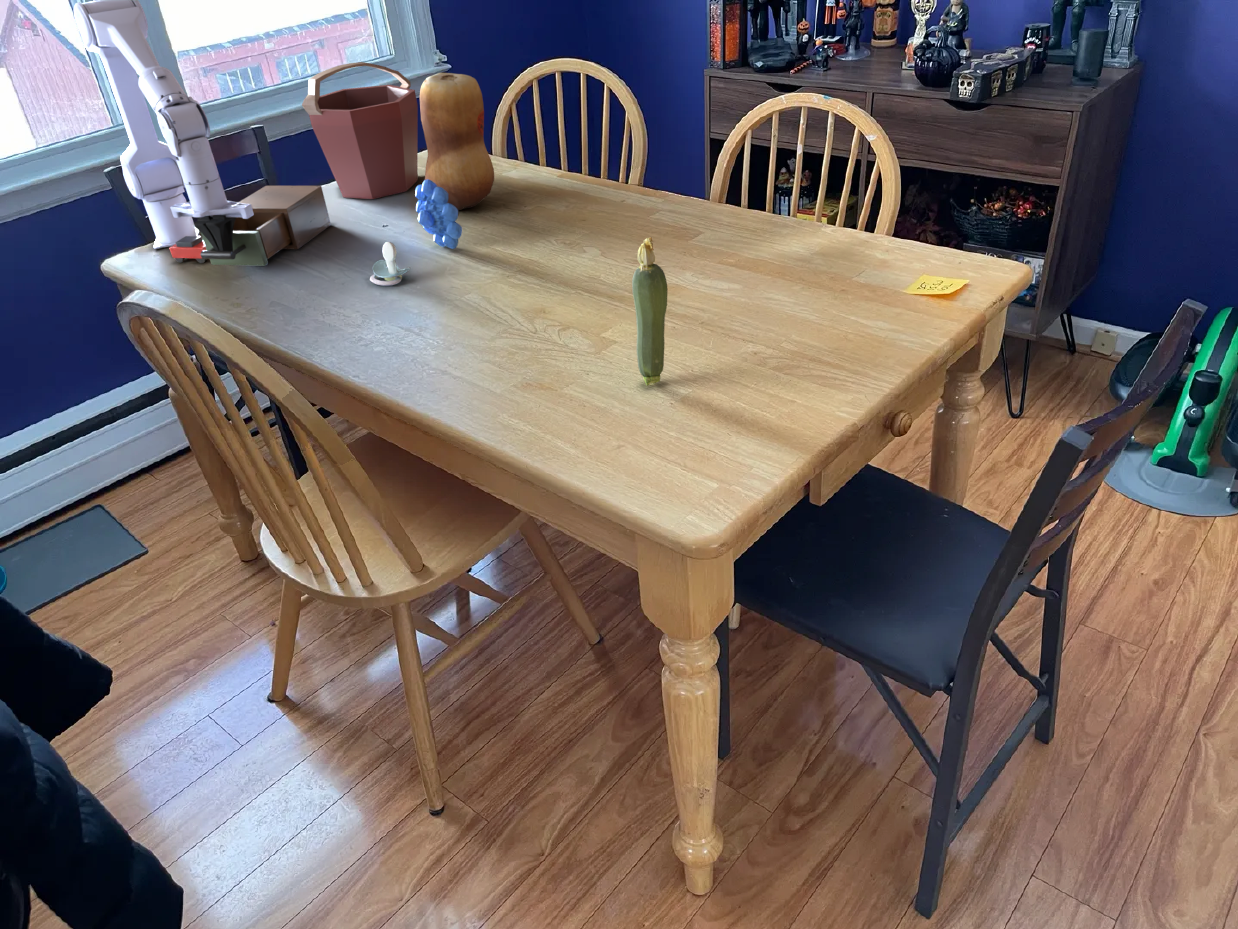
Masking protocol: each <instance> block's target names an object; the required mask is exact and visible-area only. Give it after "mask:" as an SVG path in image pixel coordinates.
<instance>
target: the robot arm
mask: <svg viewBox="0 0 1238 929" xmlns="http://www.w3.org/2000/svg"><path fill="white" fill-rule="evenodd" d="M73 17H74V20H75V24H76V26H77V29H78V33H79V35H80V38H81V40H82V43H83V46H84V47H85V48H86V51H88V52H92V53H97V54H98V56H99V58H100V59H101V62H102V64H103V67H104V70H105V73H106V75H107V77H108V82H109V84H110V87H111V90H112V92H113V95H114V99H115V101H116V105H117V107H118V109H119V112H120V114H121V120H122V121H123V124H124V127H125V130H126V133H127V136H128V138H129V142H130V144H129V146H128V147H127V148H126V150H125V151H124V152H123V153H122V155H120V158H119V160H120V165H121V168H122V175H123V180H124V182H125V184H126V186H127V189H128V190H129V192H130V194H131V195H132V196H133V197H134V198H136V199H138V200H142V202H143V206H144V209H145V211H146V214H147V216H148V219H149V222H150V225H151V227H152V230H153V232H154V235H155V241H154V244H153V249H155V250H157V249H163V248H170V247H171V246H173V245H175V244H176V243H175V242H177V241H179V240H180V239H182V238H184V237H185V236H200V234H201V233H202V234H203V235H204V236H205V237H206V238H207V239H208V241H209V242H210V243H211V245H212V246H213V248H214V249H215V251H233V244H232V237H233V228H234V223H235V219H236V217H242V218H243V219H248V218H250V217H251V216H253V215H254V213H253V210H252V207H251V204H243V203H238V202H239V201H232V200H227V199H228V198H227V195H226V193H225V189H224V186H223V183H222V180H221V177H220V174H219V171H218V168H217V163H216V161H215V157H214V155H213V154H214V153H213V152H212V148H211V145H210V142H209V139H208V138H209V137H210V136H211V127H210V123H209V120H208V117H207V114H206V113H205V110H204V109H203V107H202V105H201V104H200V102H198V101H197V100H196V99H194V97H192V96H188V95H187V94H186V93H185V91H184V89H183V88H182V86H181V84H180V83H179V81H178V80H177V78H176V77H175V75H174V73H173V72H172V71H171V70H170V69H168V68H167V67H164V66H160V64H159V61H158V60H157V58H156V56H155V53H154V51H153V50H152V48H151V46H150V44H149V42H148V41H147V38H148V37H149V34H148V31H149V30H148V29H149V25H148V20H147V16H146V13H145V11H144V8H143V6H142V4H141V2H140V1H139V0H93V1H86V2H81V1H79V2H75V4H74V6H73ZM138 76H139V77H138ZM146 100H147V102H148V103H149V105H150V107H151V109H152V110H153V112H154V113H155V115H156V118H157V123H158V126H159V129H160V131H161V134H162V136H163V138H164V139H165V142H166V143H164V142H163V141H160V140H159V138H158V135H157V132H156V128H155V125H154V123H153V119H152V116H151V113H150V110H149V107H148V105H147V102H146ZM185 191H186V192H185ZM183 193H186V194H187V196H188V199H189V202H187V199H186V197H185V196H184V194H183ZM193 218H196V219H197V220H196V221H195V222H194V220H193Z"/></svg>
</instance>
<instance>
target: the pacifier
mask: <svg viewBox="0 0 1238 929" xmlns="http://www.w3.org/2000/svg"><path fill="white" fill-rule="evenodd" d="M381 251H382V257H383V259H380V260H377V261H375V262H374V263H373V265H372V271H373V273H374V274H372V275H371V276H369V281H370V282H371V283H372V284H375V285H378V286H393V285H397V284H399V283H400V282H401V281H402V280H403V275H404V274H406V273H408V272H409V271H410V270H411V269H412V268H411V266H408V267H406V268H401V269H400V267H399V266H398V265H397V262H396V258H397V253H398V251H397V247H396V246H395V244H394V243H393V242H391V241H386V242H384V243H383V245H382V250H381ZM377 278H382V279H384V280H379V279H377Z"/></svg>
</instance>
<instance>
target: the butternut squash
mask: <svg viewBox="0 0 1238 929" xmlns="http://www.w3.org/2000/svg"><path fill="white" fill-rule="evenodd" d="M419 108H420V122H421V125H422V129H423V130H422V131H423V134H424V135H423V136H424V141H425V144H426V145H425V146H426V150H427V156H426V163H425V169H424V170H425V171H424V180H427V179H428V180H431V181H433V182H434V183H435V184H436V185H437V186H438V187H441V188H443V189H444V190H446V191H447V193H448V197H449V198H448V202H447V203H449V204H452V205H453V206H455V207H456V208H457V209H458V211H461V210H463V209H471V208H473V207H476V206H478V205H479V204H480V203H481V202H482V201H483V200H484V199H486V198H487V197H488V196H489V195H490V194H491V192H492V189H493V186H494V183H495V169H494V165H493V162H492V159H491V157H490V154H489V151H487V147H486V144H485V139H484V135H485V134H484V132H485V130H484V129H485V108H484V99H483V93H482V90H481V88H480V85H479V83H478V81H477V79H476V78H475V77H472V76H471V75H468V74H464V73H453V72H437V73H436V74H433V75H430V76H427V77H426V78H425V79H424V80H423V82H422V84H421V86H420V90H419Z"/></svg>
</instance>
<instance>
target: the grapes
mask: <svg viewBox="0 0 1238 929" xmlns="http://www.w3.org/2000/svg"><path fill="white" fill-rule="evenodd" d="M414 191H415V194H414V195H415V198H416V199H417V202H416V203H415V211H416V212H417V214H418V216H417V222H418V223H419V225H420V226H422V227H423V230H424V231H425V232H426V233H428V234H429V235H433V242H434V243H435V244H436V245H438V246H439V247H442V248H445V247H447V248H449V249H451V250H454V249H456V248H457V247H458V246H459V239H460V238H461V237H462V234H463V226H461V224H460V223H458V222H457V220H458V218H459V210H458V209H457V208H456V207H455V206H453V205H452V204H449V203H447V202H448V198H449V197H448V193H447V191H446V190H444V189H443V188H441V187H438V186H437V185H436V184H435V183H434V182H433V181H431V180H428V179H427V180H425V179H424V180H423V182H422V184H418V185H417V186H416V187H415V190H414Z"/></svg>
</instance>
